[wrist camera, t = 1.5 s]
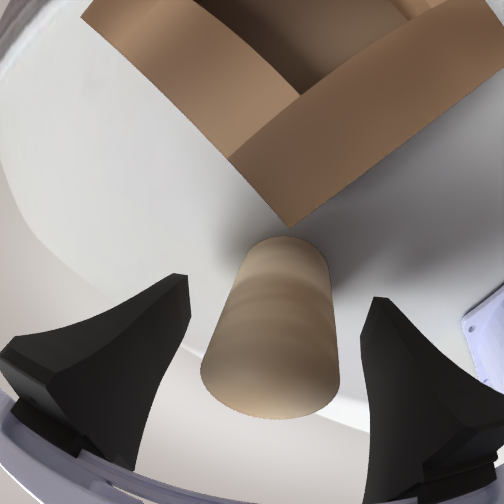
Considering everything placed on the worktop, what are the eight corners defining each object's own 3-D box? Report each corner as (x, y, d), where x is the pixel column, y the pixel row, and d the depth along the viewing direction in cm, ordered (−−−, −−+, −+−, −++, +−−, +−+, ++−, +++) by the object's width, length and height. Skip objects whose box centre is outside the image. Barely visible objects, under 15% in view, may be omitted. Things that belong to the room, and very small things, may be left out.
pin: (346, 283, 12) (364, 392, 7) (278, 324, 14) (261, 429, 9) (291, 217, 11) (279, 309, 6) (222, 269, 13) (174, 368, 8)
